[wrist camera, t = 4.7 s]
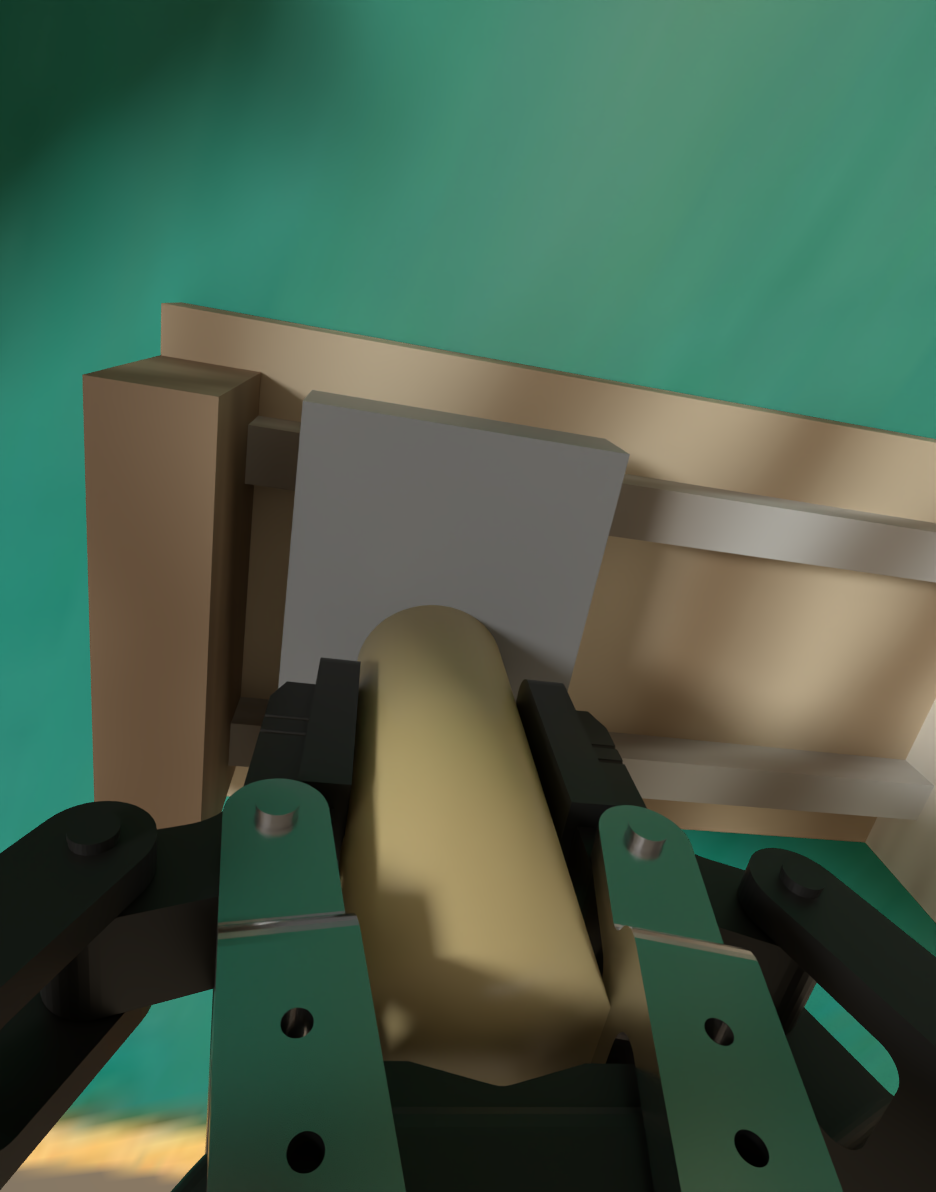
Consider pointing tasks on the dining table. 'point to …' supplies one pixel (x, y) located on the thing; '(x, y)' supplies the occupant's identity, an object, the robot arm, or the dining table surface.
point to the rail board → (618, 607)
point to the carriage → (453, 715)
